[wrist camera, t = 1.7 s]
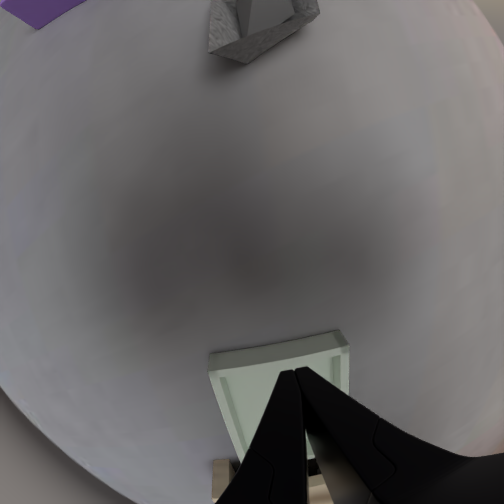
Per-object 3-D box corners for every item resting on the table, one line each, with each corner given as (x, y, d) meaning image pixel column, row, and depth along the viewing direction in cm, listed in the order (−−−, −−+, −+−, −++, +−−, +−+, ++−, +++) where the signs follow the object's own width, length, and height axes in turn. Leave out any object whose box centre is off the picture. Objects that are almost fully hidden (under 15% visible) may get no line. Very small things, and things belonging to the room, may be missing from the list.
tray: (337, 431, 22) (344, 450, 19) (242, 449, 22) (243, 469, 19) (337, 327, 19) (349, 344, 17) (210, 350, 19) (207, 371, 16)
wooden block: (360, 463, 24) (373, 495, 19) (230, 487, 24) (230, 522, 18) (366, 428, 22) (384, 465, 17) (213, 456, 22) (211, 498, 17)
